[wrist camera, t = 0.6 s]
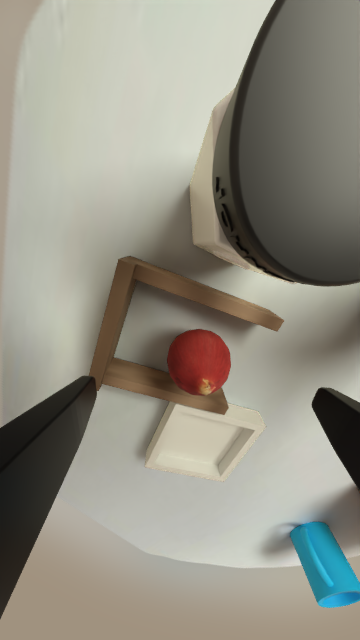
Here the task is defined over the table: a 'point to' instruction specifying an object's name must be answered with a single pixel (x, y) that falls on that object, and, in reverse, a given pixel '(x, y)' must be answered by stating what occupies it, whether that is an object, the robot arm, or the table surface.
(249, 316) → the bay
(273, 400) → the table surface
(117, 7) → the table surface
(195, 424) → the tray
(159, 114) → the table surface
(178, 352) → the onion
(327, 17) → the jar
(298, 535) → the mug
